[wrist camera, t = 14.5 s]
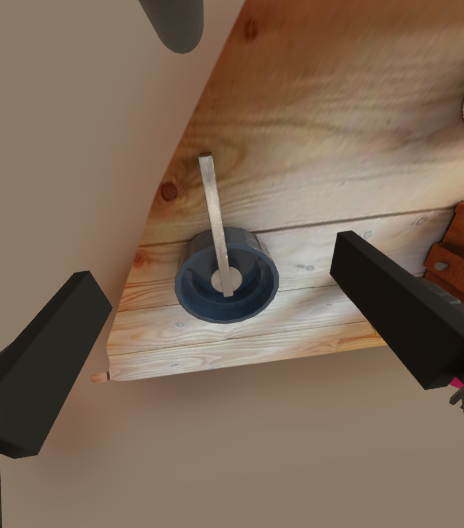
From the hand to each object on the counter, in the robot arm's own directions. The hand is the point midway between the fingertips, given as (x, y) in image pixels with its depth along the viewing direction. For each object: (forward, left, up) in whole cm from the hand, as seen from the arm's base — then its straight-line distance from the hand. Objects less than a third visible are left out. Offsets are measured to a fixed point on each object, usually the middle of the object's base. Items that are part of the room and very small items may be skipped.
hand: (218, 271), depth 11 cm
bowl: (+14, 0, -20) cm, 25 cm away
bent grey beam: (+6, 0, -20) cm, 21 cm away
